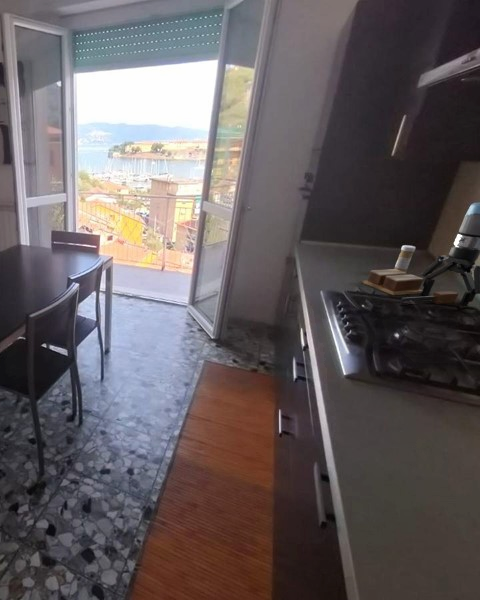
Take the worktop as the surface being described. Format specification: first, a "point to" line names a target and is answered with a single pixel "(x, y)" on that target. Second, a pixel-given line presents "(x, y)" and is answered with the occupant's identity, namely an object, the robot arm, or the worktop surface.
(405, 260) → the sprinkles bottle
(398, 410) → the worktop surface
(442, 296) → the knife
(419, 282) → the cake
